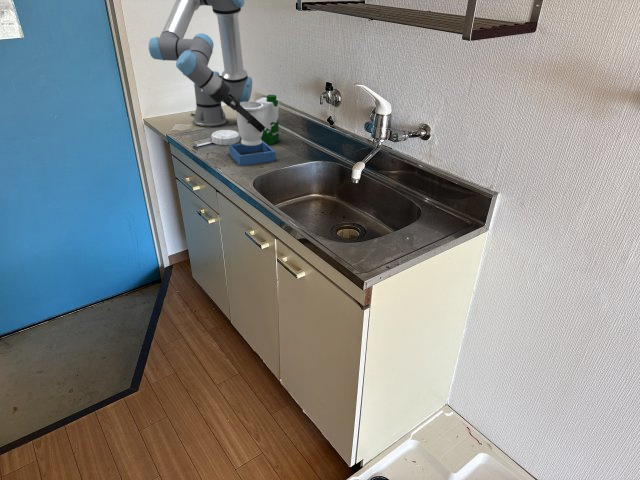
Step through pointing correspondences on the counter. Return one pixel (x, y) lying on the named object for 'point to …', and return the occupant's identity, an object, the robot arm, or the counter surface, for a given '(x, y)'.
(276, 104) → the milk carton
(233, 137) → the mooncake
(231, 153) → the blue crate
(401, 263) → the counter surface
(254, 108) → the jar
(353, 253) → the counter surface
